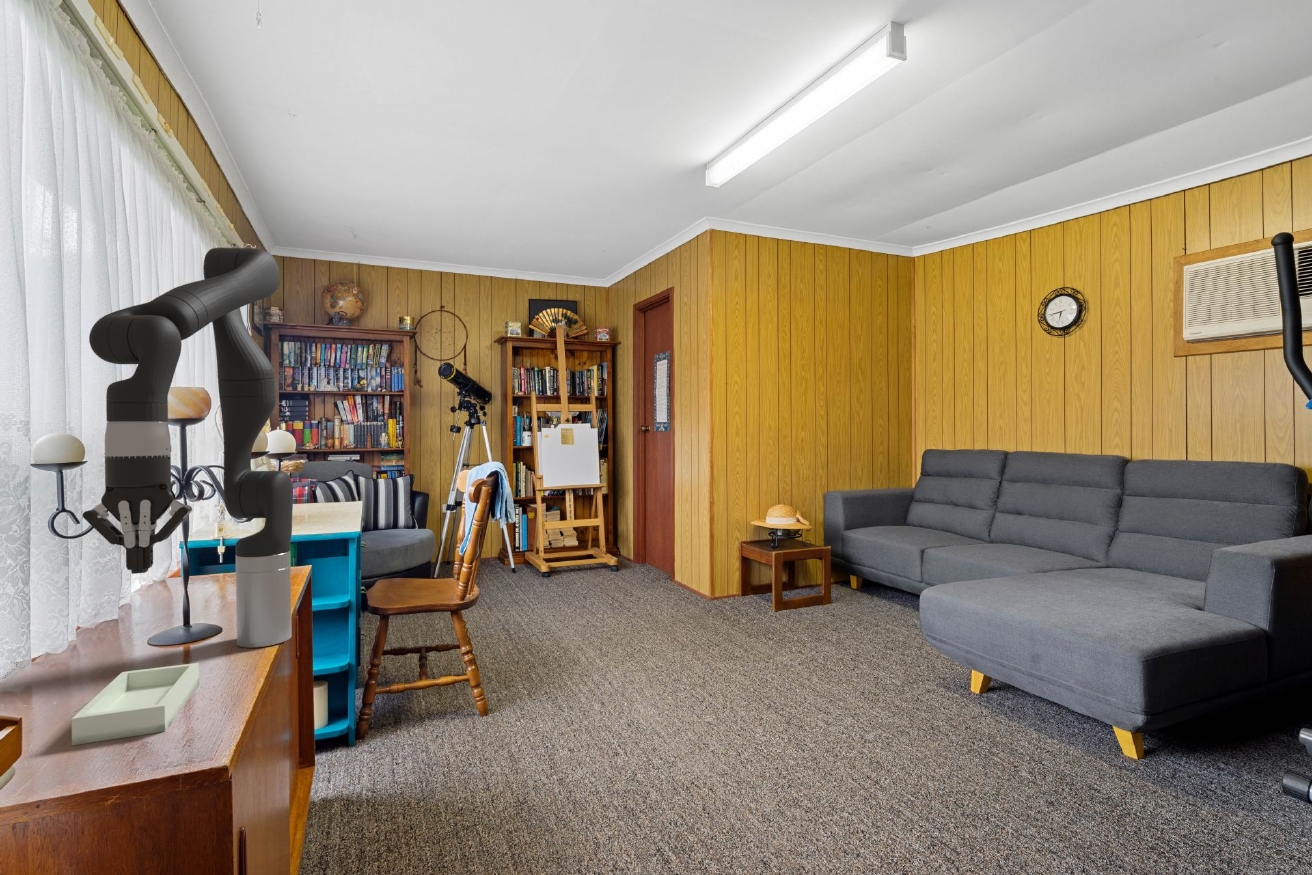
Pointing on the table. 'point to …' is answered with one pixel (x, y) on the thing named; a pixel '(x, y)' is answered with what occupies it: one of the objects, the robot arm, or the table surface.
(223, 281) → the robot arm
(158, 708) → the tray
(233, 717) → the table surface
